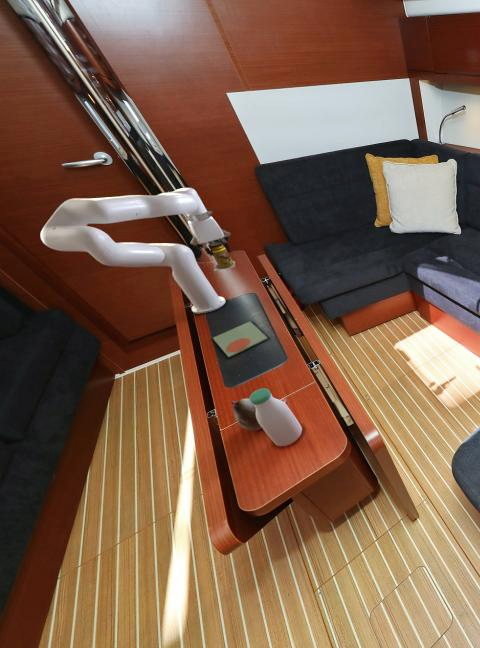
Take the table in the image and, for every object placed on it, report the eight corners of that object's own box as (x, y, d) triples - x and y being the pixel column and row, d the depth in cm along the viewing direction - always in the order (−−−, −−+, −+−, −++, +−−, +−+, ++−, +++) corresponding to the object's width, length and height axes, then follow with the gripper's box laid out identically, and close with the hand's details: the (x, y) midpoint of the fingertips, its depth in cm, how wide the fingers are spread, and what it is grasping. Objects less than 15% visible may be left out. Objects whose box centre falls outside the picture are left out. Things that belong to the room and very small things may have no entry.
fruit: (240, 421, 104) (220, 398, 97) (272, 403, 110) (255, 379, 102) (250, 441, 98) (229, 418, 91) (283, 421, 104) (266, 397, 97)
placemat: (213, 338, 135) (212, 337, 135) (250, 322, 144) (250, 320, 144) (229, 358, 126) (228, 356, 126) (268, 338, 135) (267, 337, 135)
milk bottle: (308, 428, 102) (281, 387, 90) (287, 450, 96) (256, 409, 84) (289, 421, 104) (261, 380, 92) (268, 442, 98) (234, 401, 86)
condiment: (235, 266, 162) (223, 244, 155) (214, 271, 158) (200, 249, 151) (235, 261, 166) (223, 239, 160) (214, 265, 162) (201, 243, 155)
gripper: (218, 210, 155) (236, 244, 166) (172, 220, 144) (195, 256, 155) (224, 213, 152) (242, 248, 162) (177, 224, 140) (200, 261, 151)
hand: (219, 252), depth 158 cm, fingers closed on condiment, 6 cm apart
